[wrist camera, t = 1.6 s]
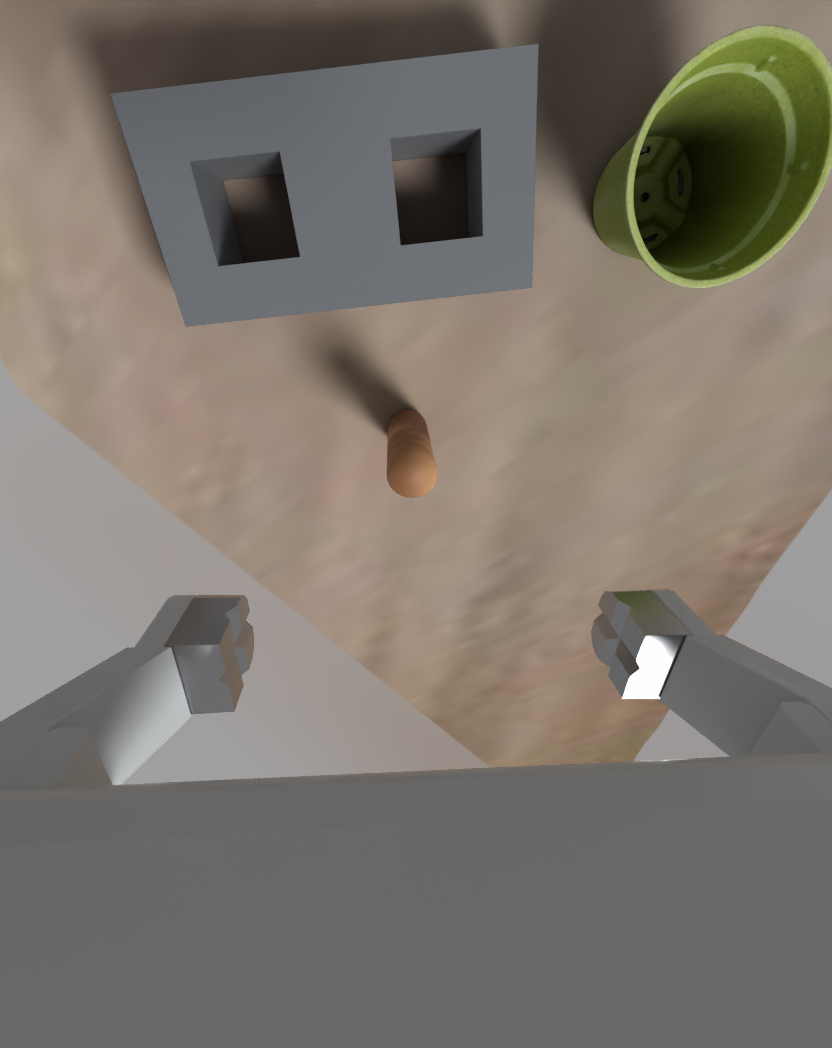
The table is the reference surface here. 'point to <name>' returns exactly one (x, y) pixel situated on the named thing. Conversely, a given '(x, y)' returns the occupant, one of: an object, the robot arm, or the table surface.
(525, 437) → the table surface
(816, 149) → the plant pot
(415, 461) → the peg
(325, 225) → the hole block
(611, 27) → the table surface
